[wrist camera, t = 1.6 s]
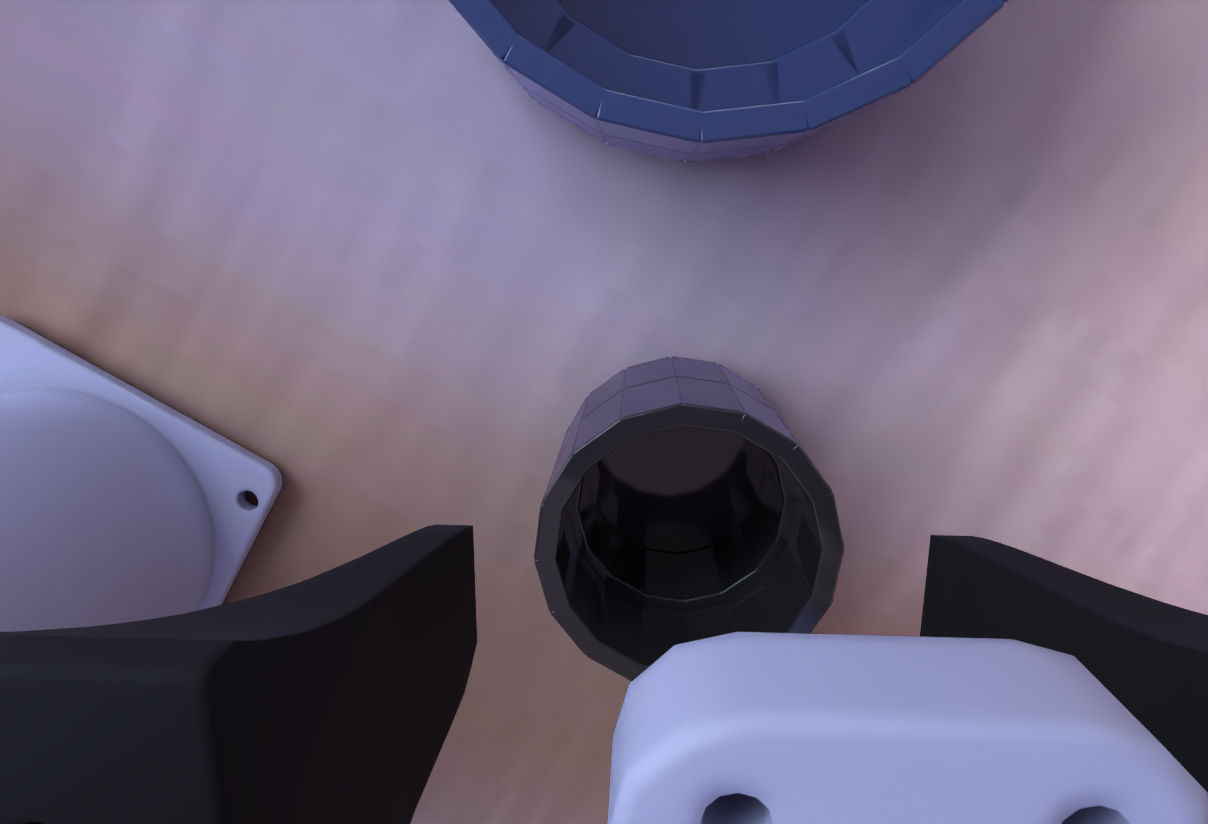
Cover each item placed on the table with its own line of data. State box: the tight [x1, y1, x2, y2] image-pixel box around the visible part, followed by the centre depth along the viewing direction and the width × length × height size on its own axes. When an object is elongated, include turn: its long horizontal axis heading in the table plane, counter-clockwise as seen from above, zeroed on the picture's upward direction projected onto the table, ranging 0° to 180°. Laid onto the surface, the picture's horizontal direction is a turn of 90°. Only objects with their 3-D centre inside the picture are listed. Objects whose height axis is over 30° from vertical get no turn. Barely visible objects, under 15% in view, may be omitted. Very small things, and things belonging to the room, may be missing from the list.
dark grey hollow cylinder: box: [534, 357, 844, 681], centre depth 17 cm, size 5×5×5 cm
